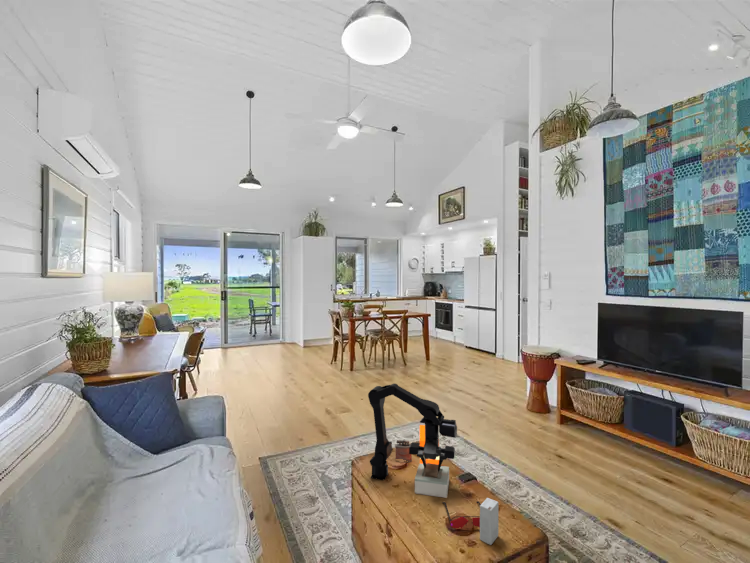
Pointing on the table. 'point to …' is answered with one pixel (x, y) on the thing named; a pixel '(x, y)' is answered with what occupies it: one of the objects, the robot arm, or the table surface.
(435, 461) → the orange juice
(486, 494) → the table surface
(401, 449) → the ornate red flask
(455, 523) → the glasses
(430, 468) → the brown square block
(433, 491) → the slot box
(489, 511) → the skincare box
